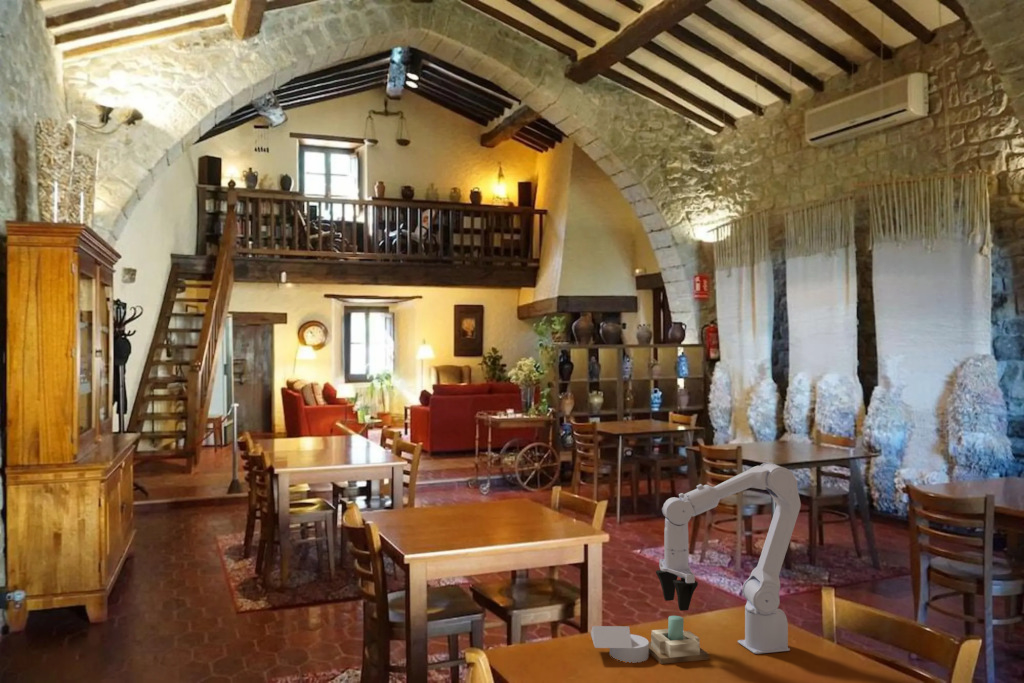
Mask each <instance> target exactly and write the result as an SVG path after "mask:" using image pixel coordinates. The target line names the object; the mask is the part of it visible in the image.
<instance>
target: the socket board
mask: <svg viewBox="0 0 1024 683" xmlns="http://www.w3.org/2000/svg"><path fill="white" fill-rule="evenodd" d="M650 637H651V638H650V639H651V640H650V641H648V642H649V656H651V657H652V658H654V659H655V660H656V661H657V662H658V663H659V664H660V665H662V664H672V663H673V664H674V663H675V664H676V663H682V662H684V663H686V662H695V661H705V660H706V661H707V660H710V659H709V658H710V654H709V653H708V652H706V651H705V650H704V649H703V648H701V646H700V645H701V643H700V637H698V636H697V635H696V634H694V633H693V632H691V631H690V630H688V631H686V630H683V640H673V641H670V640H669V639H668V628H663V629H662V628H661V629H651V634H650Z"/></svg>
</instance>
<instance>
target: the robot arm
mask: <svg viewBox="0 0 1024 683" xmlns="http://www.w3.org/2000/svg"><path fill="white" fill-rule="evenodd" d="M798 483H799V482H798V480H797V478H796V477H795V476H794V474H793V473H792V471H791V470H790V469H788V468H786V467H783V466H780V465H778V464H776V463H774V462H771V461H768V462H764V463H761V464H760V465H756V466H753V467H751V468H748V469H747V470H745V471H743V472H741V473H738V474H737V475H734V476H732V477H731V478H728V479H727V480H725V481H723V482H721V483H719V484H717V485H714V486H711V485H709V484H704V485H703V484H702V483H699V484H698V485H696V488H695V489H693V490H690V491H688V492H686V493H683V492H680V493H679V494H678V497H675V496H674V497H670V498H668V499H666V500H665V502H664V503H663V506H662V507H661V512H662V515H663V516H664V517H665V518H664V531H663V532H664V536H663V538H664V540H663V541H664V542H663V543H664V549H663V550H664V551H663V552H664V558H662V559H661V558H660V559H659V565H658V566H659V569H660V570H659V569H657V570H656V571H655V575H656V576H657V578H658V580H659V583H660V586H661V589H662V595H663V598H664V601H665V602H668V601H669V602H671V601H674V599H675V593H676V596H677V605H678V609H679V611H681V612H682V611H689V610H690V605H691V601H692V597H693V594H694V592H695V591H696V588H698V585H699V582H698V581H697V580H696V579H695V577H696V576H695V574H694V573H693V572H692V570H691V568H690V566H689V522H690V520H691V518H692V517H696V516H699V515H701V514H703V513H705V512H707V511H710V510H712V509H714V508H717V506H718V505H719V502H720V500H722V499H725V498H727V497H729V496H733V495H735V494H737V493H738V494H739V493H741V492H743V491H746V490H748V489H750V488H751V489H759V490H764V491H765V490H766V491H767V492H768V493H769V495H770V496H771V497H772V500H773V502H774V503H775V505H776V506H775V509H774V512H773V516H772V519H771V522H770V525H769V528H768V531H767V535H766V537H765V541H764V544H763V546H762V551H761V553H760V557H759V559H758V563H757V565H756V567H755V568H753V569H752V571H751V573H750V575H749V577H748V578H747V579H746V580H745V581H744V582H743V585H742V595H743V596H744V598H745V599H746V604H745V605H744V639H738V640H737V643H738V644H739V645H741V646H743V647H744V648H746V649H747V651H748V650H749V651H750V652H751V653H753V654H754V655H759V654H760V655H761V654H769V653H779V652H790V650H791V648H790V647H788V646H789V640H788V638H789V628H788V627H789V626H788V625H789V623H788V617H787V616H786V613H785V612H784V611H783V610H782V609H781V608H779V607H780V602H781V601H780V589H781V580H780V573H781V570H782V568H783V567H782V566H783V564H784V560H785V556H786V554H787V551H788V548H789V544H790V542H791V539H792V534H793V532H794V530H795V525H796V522H797V519H798V516H799V514H800V510H801V507H802V506H801V505H802V503H801V499H800V494H799V489H798ZM678 578H680V579H678Z"/></svg>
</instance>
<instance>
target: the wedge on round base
mask: <svg viewBox="0 0 1024 683" xmlns="http://www.w3.org/2000/svg"><path fill="white" fill-rule="evenodd" d="M630 630H631V629H630V625H628V626H625V625H624V626H623V625H619V626H617V625H608V626H607V625H592V628H591V631H590V637H591V639H592V642H593V646H594V648H595V649H609V656H610V655H611V656H612V657H613V658H615V659H618V660H620V661H619V662H621V661H625V662H624V663H627V662H629V664H631V662H632V664H635V663H637V662H638V663H642V661H643V662H646V661H647V660H648V659H649V656H650V654H649V642H650V641H649V640H648V639H647V638H646V637H644V636H641V635H638V634H632V633H631V631H630ZM611 656H610V657H611ZM612 657H611V658H612ZM613 658H612V659H613ZM615 659H614V660H615ZM618 660H617V661H618Z"/></svg>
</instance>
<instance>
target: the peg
mask: <svg viewBox="0 0 1024 683" xmlns="http://www.w3.org/2000/svg"><path fill="white" fill-rule="evenodd" d="M667 621H668V623H667V624H668V625H667V629H668V639H669V640H670V641H673V640H683V631H684V622H685V620H684V618H683V616H680V615H669V616H668V620H667Z"/></svg>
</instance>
